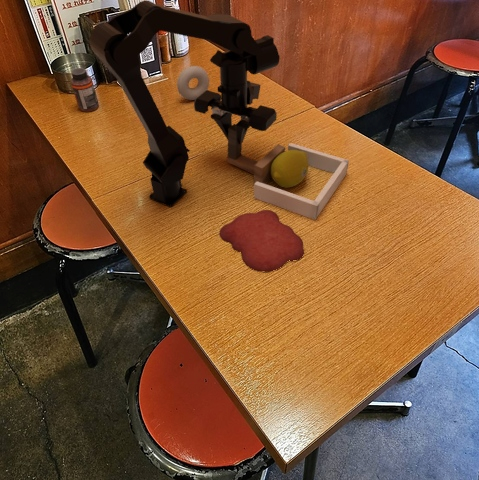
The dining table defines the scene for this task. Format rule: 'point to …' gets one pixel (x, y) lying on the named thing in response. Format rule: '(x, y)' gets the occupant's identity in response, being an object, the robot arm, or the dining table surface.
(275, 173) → the lemon
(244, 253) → the red spill
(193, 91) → the donut
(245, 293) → the dining table surface
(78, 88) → the supplement bottle
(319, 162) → the box
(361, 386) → the dining table surface
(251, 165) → the scraper
